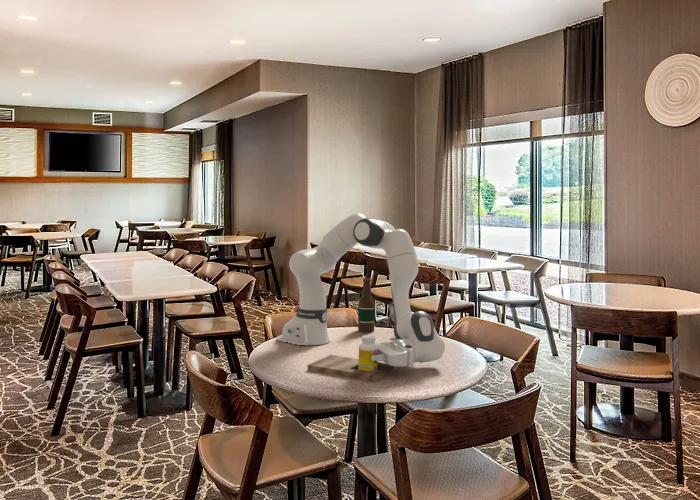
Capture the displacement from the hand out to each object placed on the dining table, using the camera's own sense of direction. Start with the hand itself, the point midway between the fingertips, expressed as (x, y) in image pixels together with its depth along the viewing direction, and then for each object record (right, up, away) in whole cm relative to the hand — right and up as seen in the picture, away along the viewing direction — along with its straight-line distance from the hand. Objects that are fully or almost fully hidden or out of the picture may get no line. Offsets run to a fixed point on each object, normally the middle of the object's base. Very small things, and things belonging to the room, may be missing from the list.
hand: (365, 355), depth 209 cm
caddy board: (-5, -6, +4) cm, 9 cm away
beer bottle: (+2, -1, +67) cm, 67 cm away
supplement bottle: (+1, -7, +1) cm, 7 cm away
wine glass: (+15, -2, +52) cm, 54 cm away
